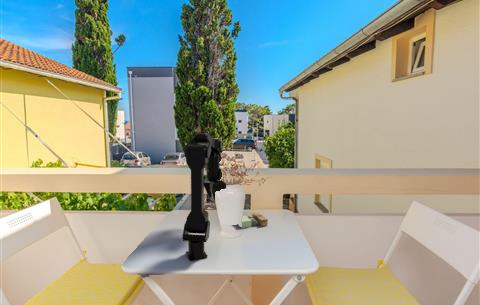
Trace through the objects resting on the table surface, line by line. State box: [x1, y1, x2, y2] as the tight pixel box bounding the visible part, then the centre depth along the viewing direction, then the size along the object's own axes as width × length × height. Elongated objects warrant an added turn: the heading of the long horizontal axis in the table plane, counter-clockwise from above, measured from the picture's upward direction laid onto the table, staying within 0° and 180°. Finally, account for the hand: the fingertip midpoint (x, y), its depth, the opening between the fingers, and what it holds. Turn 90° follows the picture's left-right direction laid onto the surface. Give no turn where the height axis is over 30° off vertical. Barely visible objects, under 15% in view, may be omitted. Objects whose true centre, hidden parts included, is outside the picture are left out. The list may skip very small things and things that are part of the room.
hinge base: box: [247, 212, 269, 227], centre depth 134 cm, size 10×6×3 cm, turn 23°
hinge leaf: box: [241, 215, 255, 229], centre depth 132 cm, size 7×8×3 cm
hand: (213, 200), depth 128 cm, fingers open, 9 cm apart
